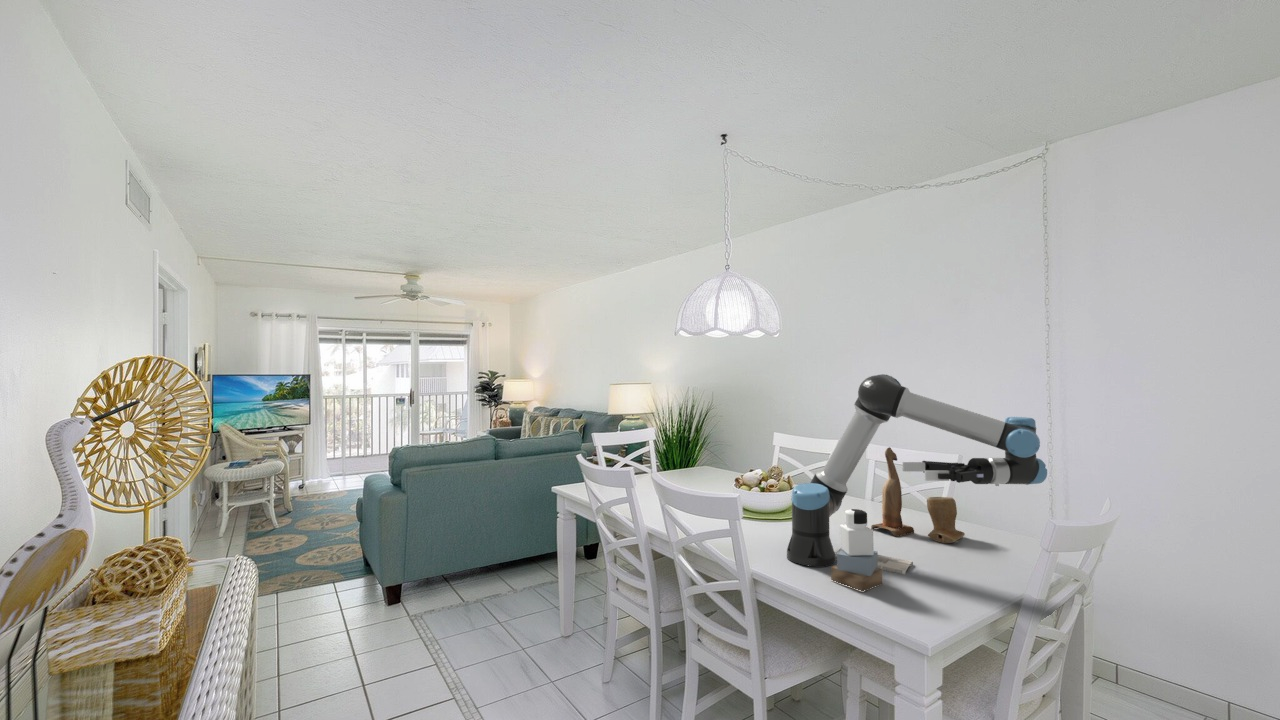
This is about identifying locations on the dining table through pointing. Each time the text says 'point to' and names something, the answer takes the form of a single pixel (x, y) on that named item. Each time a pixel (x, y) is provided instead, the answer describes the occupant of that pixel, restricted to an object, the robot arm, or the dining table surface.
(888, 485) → the bird sculpture
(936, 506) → the brown chunky piece
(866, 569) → the tower top block
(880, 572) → the tower base block
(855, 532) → the medicine bottle
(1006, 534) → the dining table surface
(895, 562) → the newspaper
